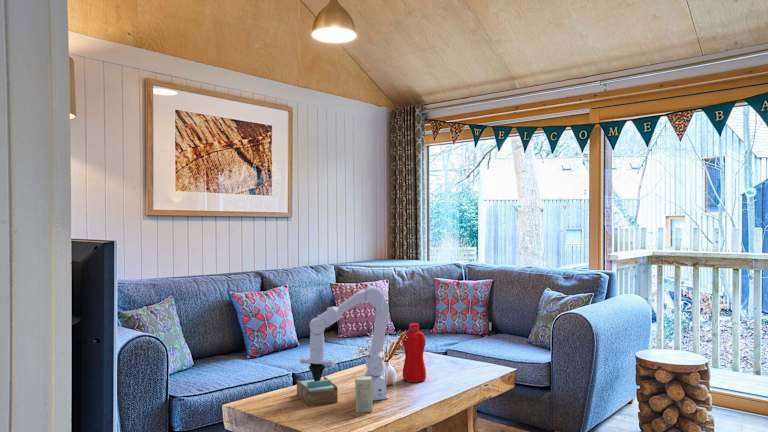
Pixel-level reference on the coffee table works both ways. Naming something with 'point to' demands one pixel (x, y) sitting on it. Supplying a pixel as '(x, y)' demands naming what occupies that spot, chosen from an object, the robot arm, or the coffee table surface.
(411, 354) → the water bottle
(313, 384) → the lid
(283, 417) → the coffee table surface
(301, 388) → the box
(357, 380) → the skincare box
